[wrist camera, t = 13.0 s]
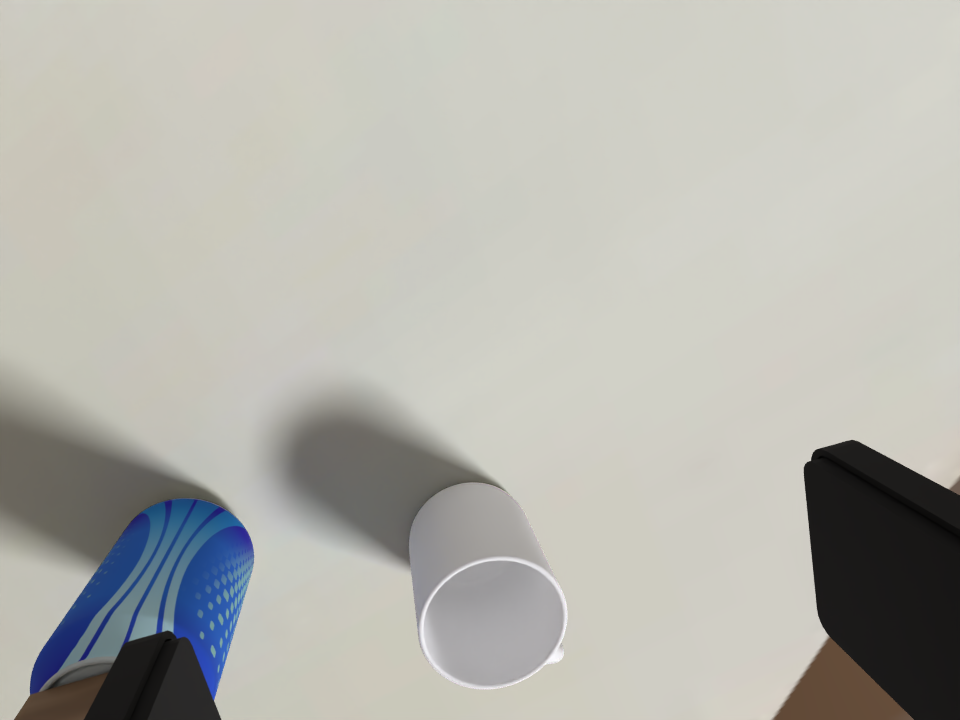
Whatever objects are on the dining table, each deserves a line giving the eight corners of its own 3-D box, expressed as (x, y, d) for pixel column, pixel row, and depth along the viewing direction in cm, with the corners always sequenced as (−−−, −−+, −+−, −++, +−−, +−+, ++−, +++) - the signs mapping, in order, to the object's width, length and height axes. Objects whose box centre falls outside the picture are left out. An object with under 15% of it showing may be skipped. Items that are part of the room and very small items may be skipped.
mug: (497, 636, 53) (528, 746, 42) (381, 537, 49) (385, 631, 39) (581, 558, 52) (633, 651, 42) (470, 453, 49) (498, 526, 38)
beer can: (134, 479, 46) (16, 630, 30) (267, 500, 47) (219, 653, 32) (116, 594, 47) (-4, 792, 32) (245, 610, 49) (189, 806, 34)
